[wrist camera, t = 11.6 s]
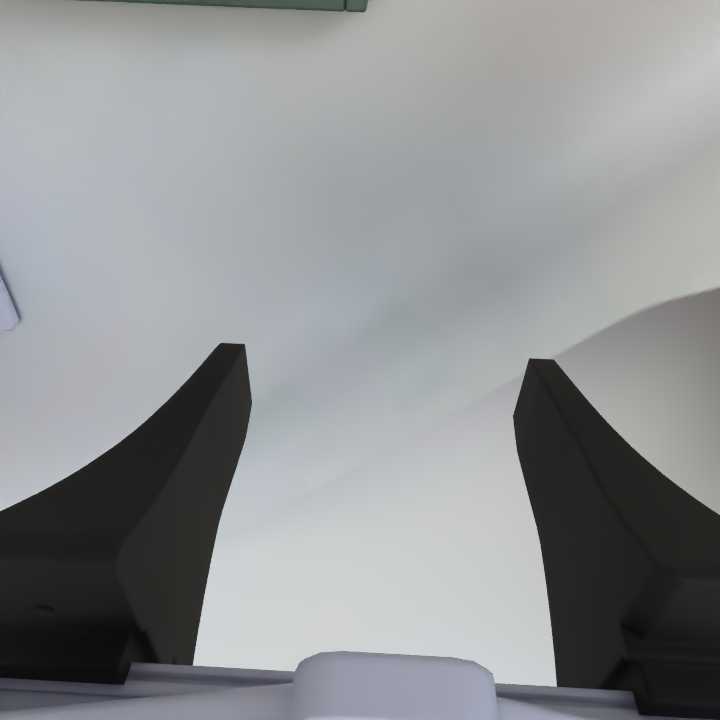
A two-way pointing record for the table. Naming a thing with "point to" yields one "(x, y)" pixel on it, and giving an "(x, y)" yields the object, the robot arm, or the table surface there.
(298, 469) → the table surface
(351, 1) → the rack
